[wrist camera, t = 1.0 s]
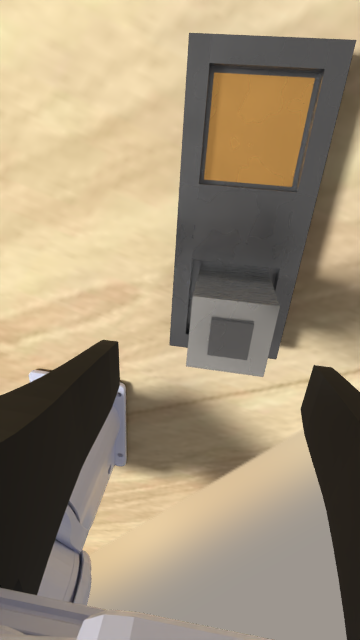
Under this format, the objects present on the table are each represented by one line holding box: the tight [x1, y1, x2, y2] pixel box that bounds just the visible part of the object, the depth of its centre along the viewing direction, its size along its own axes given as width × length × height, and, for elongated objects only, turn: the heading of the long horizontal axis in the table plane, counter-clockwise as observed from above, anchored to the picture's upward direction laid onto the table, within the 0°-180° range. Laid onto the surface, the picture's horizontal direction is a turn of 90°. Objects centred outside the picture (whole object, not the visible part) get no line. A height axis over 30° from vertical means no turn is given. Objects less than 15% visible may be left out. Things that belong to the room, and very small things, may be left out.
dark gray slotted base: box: [170, 33, 356, 359], centre depth 18 cm, size 16×7×2 cm, turn 176°
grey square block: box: [186, 264, 280, 377], centre depth 18 cm, size 4×4×5 cm
